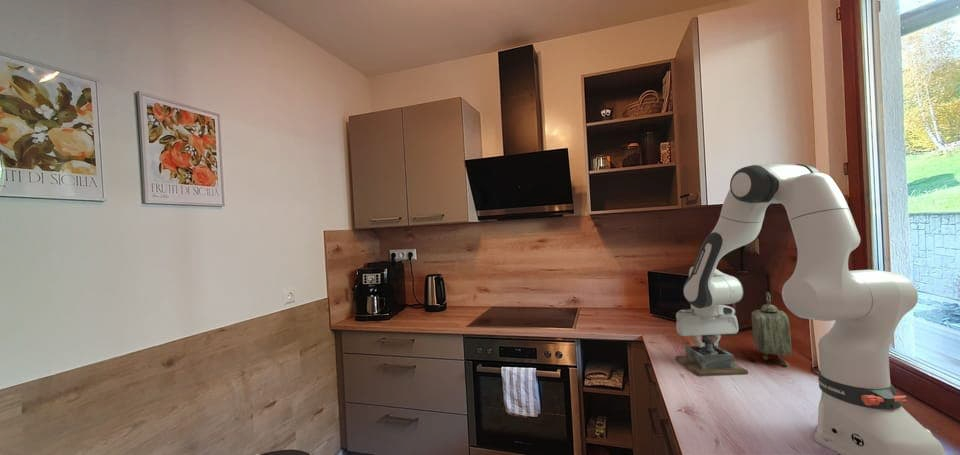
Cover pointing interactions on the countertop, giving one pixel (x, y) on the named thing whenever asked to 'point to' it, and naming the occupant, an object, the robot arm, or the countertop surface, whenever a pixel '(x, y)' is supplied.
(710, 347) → the grey chess piece
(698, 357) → the socket caddy
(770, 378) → the countertop surface
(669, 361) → the countertop surface
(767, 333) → the green tall textured piece
